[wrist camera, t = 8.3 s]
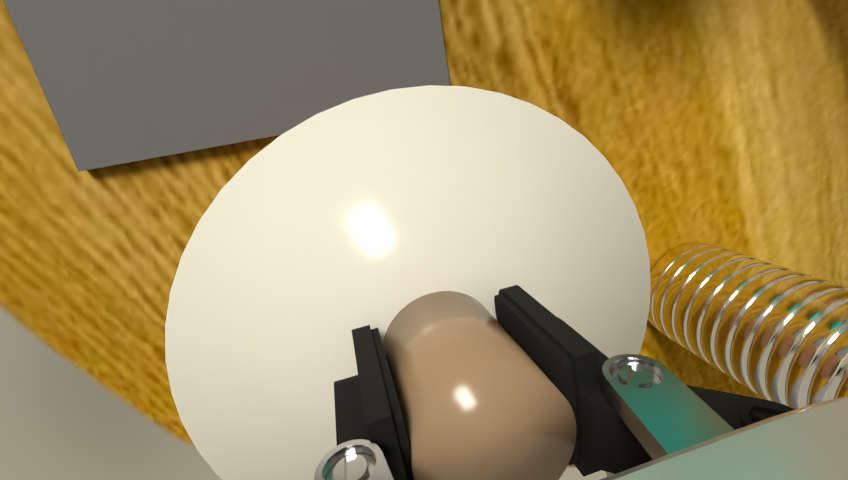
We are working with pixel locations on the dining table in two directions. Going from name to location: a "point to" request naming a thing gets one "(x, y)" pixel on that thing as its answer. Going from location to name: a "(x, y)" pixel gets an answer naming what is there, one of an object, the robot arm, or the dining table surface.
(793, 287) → the water bottle
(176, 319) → the lid
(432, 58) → the mat
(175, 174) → the dining table surface
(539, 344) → the robot arm
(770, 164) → the dining table surface
